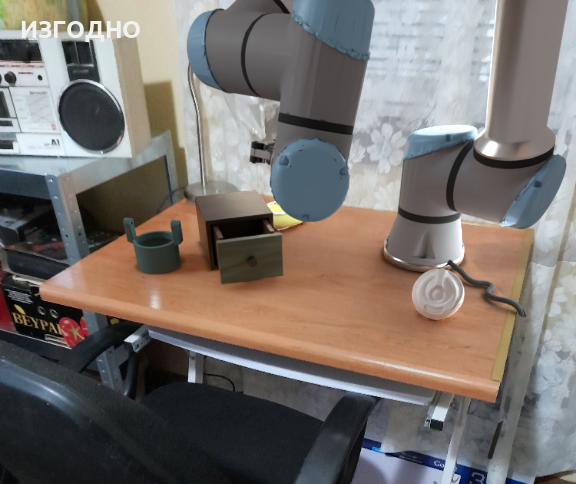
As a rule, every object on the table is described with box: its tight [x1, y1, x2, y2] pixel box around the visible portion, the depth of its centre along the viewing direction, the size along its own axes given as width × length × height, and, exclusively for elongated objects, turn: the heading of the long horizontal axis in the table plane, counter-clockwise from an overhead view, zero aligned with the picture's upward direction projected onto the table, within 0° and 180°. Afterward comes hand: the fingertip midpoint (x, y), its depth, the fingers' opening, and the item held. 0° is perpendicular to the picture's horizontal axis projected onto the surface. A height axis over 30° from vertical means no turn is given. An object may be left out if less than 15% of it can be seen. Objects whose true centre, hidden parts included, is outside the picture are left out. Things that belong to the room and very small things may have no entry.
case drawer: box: [210, 218, 284, 286], centre depth 97 cm, size 14×11×8 cm
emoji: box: [266, 200, 304, 232], centre depth 117 cm, size 4×12×12 cm
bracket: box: [122, 217, 184, 275], centre depth 100 cm, size 9×9×9 cm
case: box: [194, 189, 275, 271], centre depth 104 cm, size 14×13×10 cm
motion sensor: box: [411, 268, 465, 321], centre depth 84 cm, size 8×8×8 cm
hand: (292, 147), depth 83 cm, fingers closed
